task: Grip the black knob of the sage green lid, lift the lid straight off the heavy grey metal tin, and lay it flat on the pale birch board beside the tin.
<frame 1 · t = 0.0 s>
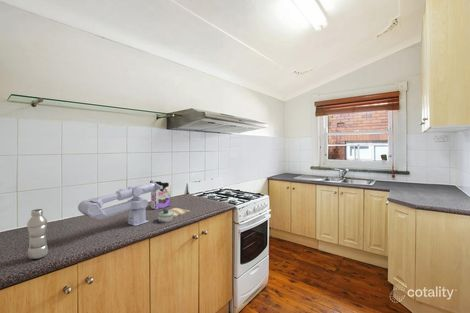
hand: (164, 183, 153), 22 cm above the countertop, tool horizontal, fingers open, 7 cm apart
board: (174, 212, 159), on the countertop
plastic bottle: (38, 257, 94), on the countertop
tin: (165, 220, 143), on the countertop, touching lid
lid: (165, 214, 143), point 4 cm above the countertop, touching tin
candy box: (161, 207, 174), on the countertop
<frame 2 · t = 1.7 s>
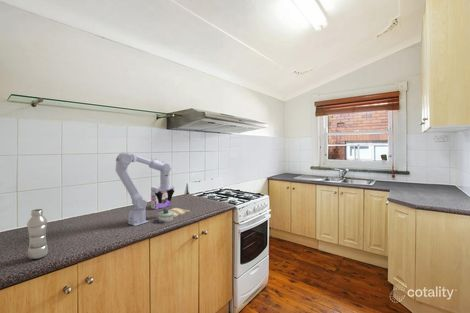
hand: (164, 201, 148), 10 cm above the countertop, tool pointing down, fingers open, 7 cm apart
nothing on the countertop moved.
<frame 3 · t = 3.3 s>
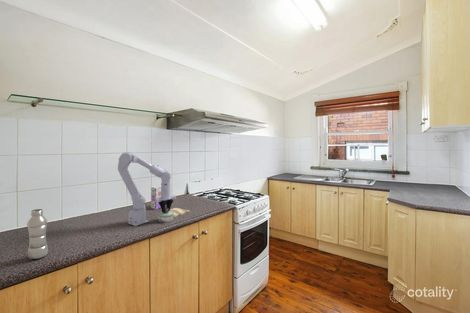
hand: (165, 211, 143), 6 cm above the countertop, tool pointing down, fingers closed on lid, 3 cm apart
tin: (165, 220, 143), on the countertop
lid: (165, 214, 143), point 4 cm above the countertop, touching gripper
everything else where it was.
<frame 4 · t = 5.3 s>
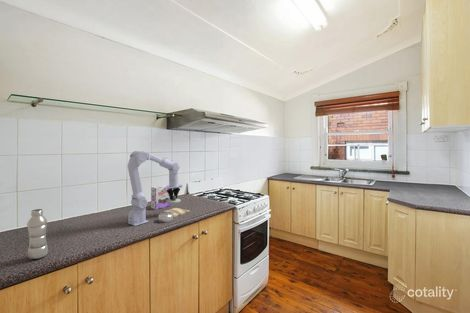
hand: (173, 199, 156), 11 cm above the countertop, tool pointing down, fingers closed on lid, 3 cm apart
lid: (173, 201, 156), point 9 cm above the countertop, touching gripper
everything else where it was.
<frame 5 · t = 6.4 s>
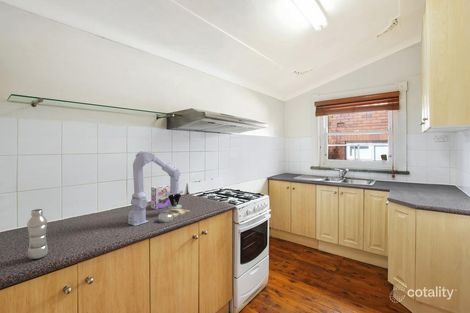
hand: (174, 204, 159), 6 cm above the countertop, tool pointing down, fingers closed on lid, 3 cm apart
lid: (174, 207, 159), point 4 cm above the countertop, touching gripper
everything else where it was.
when the fingers open (4 cm above the countertop, at t = 7.1 s): lid drops 1 cm, resting on board.
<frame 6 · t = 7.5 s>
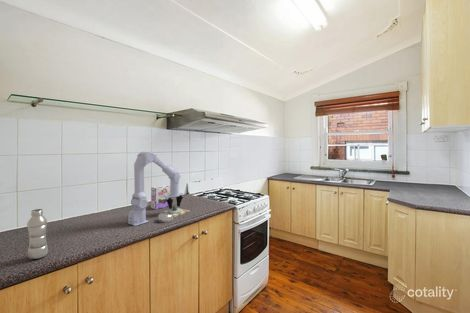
hand: (174, 207, 159), 4 cm above the countertop, tool pointing down, fingers open, 7 cm apart
lid: (174, 211, 159), point 1 cm above the countertop, touching board
everything else where it was.
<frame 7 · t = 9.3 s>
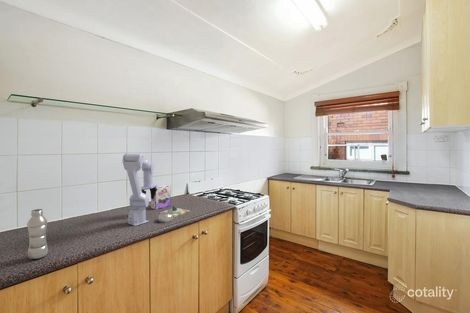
hand: (148, 199, 154), 10 cm above the countertop, tool pointing down, fingers open, 7 cm apart
nothing on the countertop moved.
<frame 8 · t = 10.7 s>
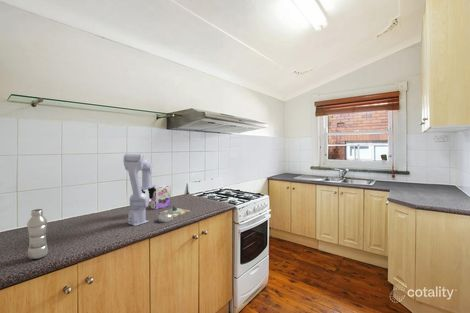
hand: (146, 199, 154), 10 cm above the countertop, tool pointing down, fingers open, 7 cm apart
nothing on the countertop moved.
at the end: lid inside the target area on the board (0.1 cm from its centre), point 1.0 cm above the board's base; lid tilted 0°; tin moved 0.2 cm from its start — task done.
